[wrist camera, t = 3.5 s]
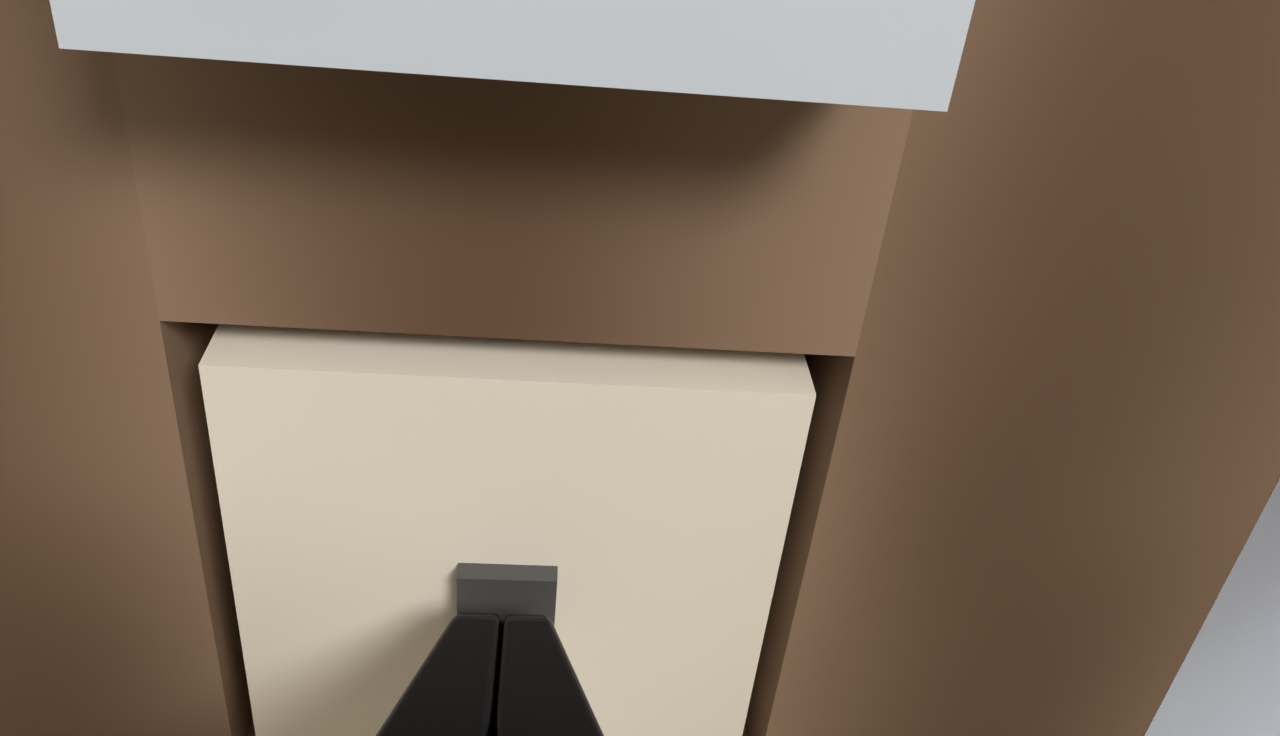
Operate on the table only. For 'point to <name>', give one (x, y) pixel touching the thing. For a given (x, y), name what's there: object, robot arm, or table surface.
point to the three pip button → (568, 41)
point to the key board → (680, 341)
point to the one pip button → (501, 514)
